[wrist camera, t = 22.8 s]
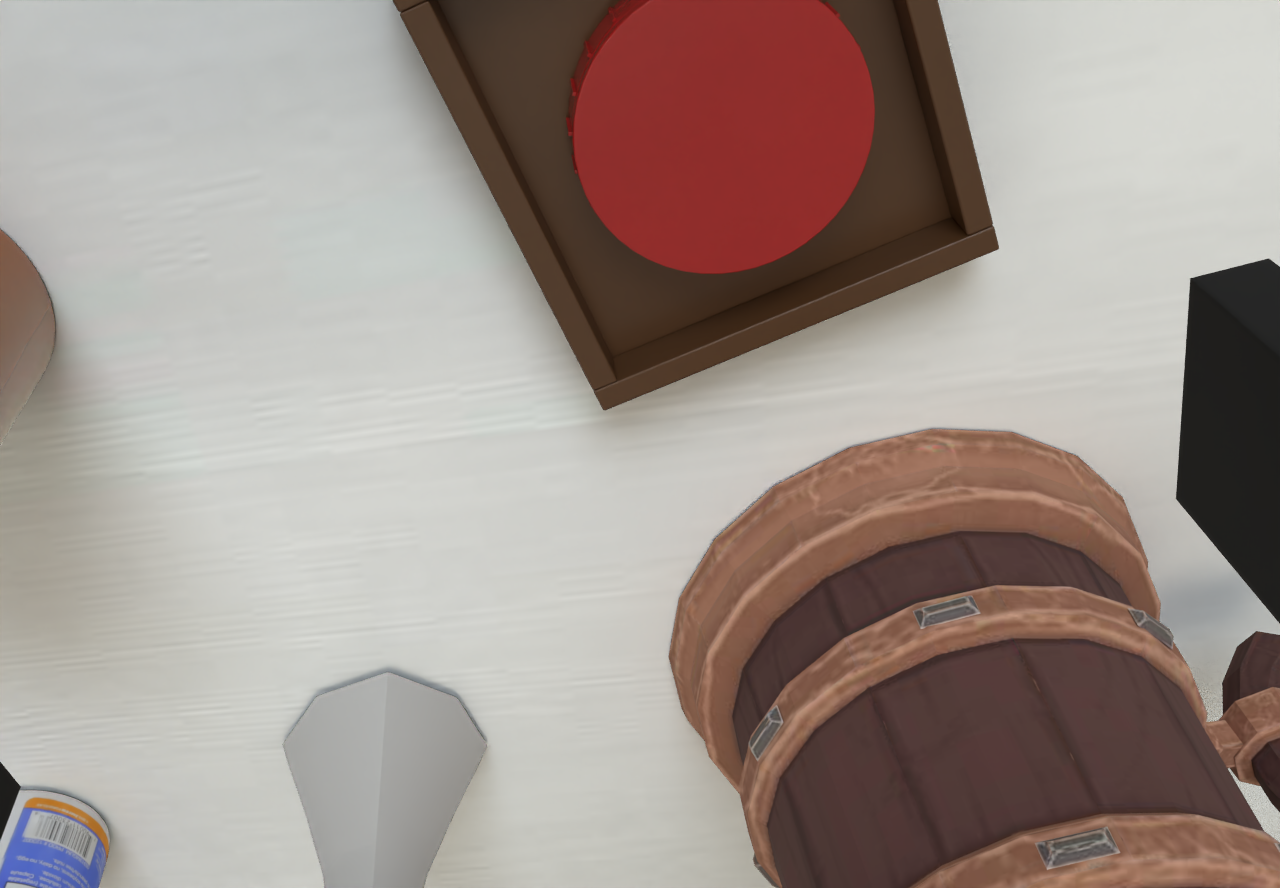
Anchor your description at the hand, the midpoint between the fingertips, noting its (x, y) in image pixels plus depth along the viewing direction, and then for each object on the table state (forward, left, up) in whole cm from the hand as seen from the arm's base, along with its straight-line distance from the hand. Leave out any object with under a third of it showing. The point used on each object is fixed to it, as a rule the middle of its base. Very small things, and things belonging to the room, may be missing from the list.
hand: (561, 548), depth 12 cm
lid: (+5, +4, -21) cm, 22 cm away
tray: (+5, +4, -23) cm, 24 cm away
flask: (+23, -16, -23) cm, 36 cm away
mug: (+28, +6, -23) cm, 37 cm away
